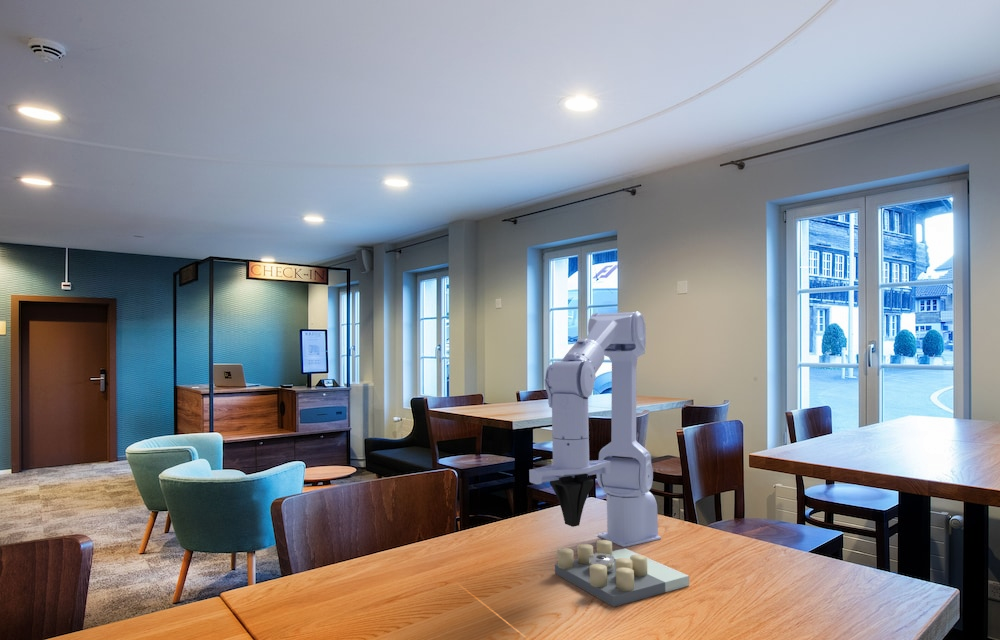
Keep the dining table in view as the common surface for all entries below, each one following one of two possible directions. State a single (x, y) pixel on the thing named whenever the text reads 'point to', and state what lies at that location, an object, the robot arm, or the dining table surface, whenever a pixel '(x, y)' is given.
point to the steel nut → (602, 561)
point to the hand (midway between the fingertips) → (572, 524)
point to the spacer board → (611, 590)
